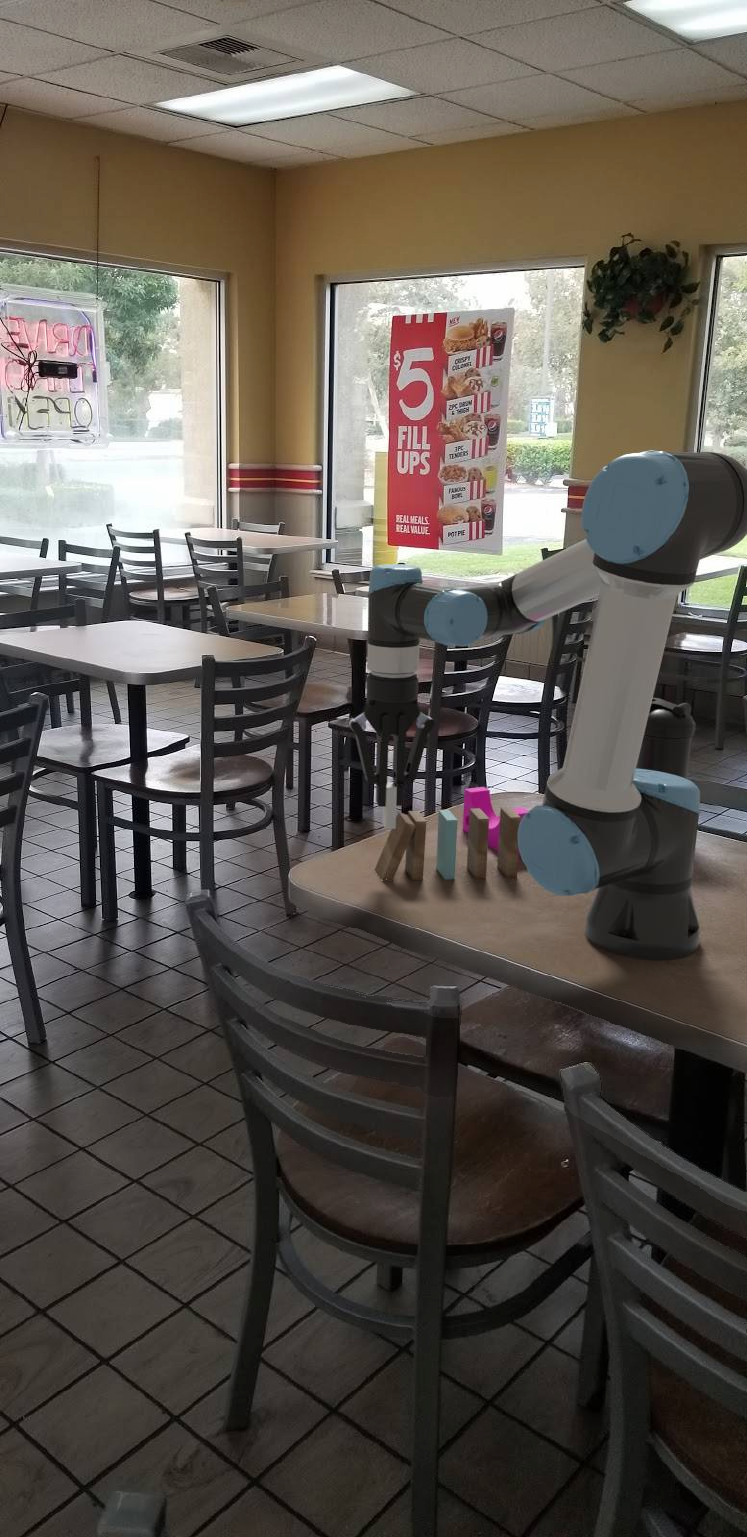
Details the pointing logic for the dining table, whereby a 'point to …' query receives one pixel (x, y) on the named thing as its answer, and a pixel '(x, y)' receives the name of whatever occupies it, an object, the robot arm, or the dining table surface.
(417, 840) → the domino
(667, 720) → the water bottle
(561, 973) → the dining table surface
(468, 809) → the toy block
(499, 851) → the domino
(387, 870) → the domino
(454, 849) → the domino
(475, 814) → the domino
